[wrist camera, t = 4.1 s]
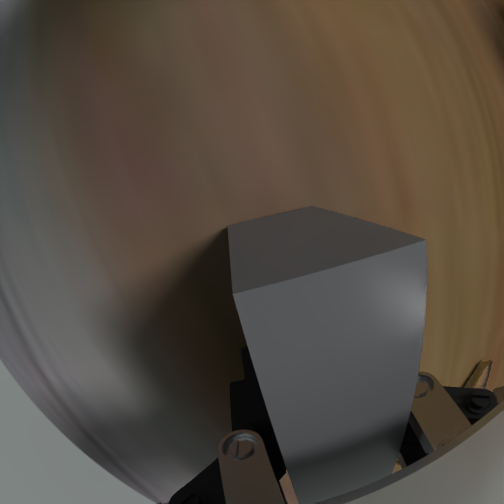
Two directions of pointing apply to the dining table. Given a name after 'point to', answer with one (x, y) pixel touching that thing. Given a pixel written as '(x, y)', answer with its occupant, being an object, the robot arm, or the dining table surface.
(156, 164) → the dining table surface
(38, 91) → the dining table surface
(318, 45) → the dining table surface
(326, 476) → the block
